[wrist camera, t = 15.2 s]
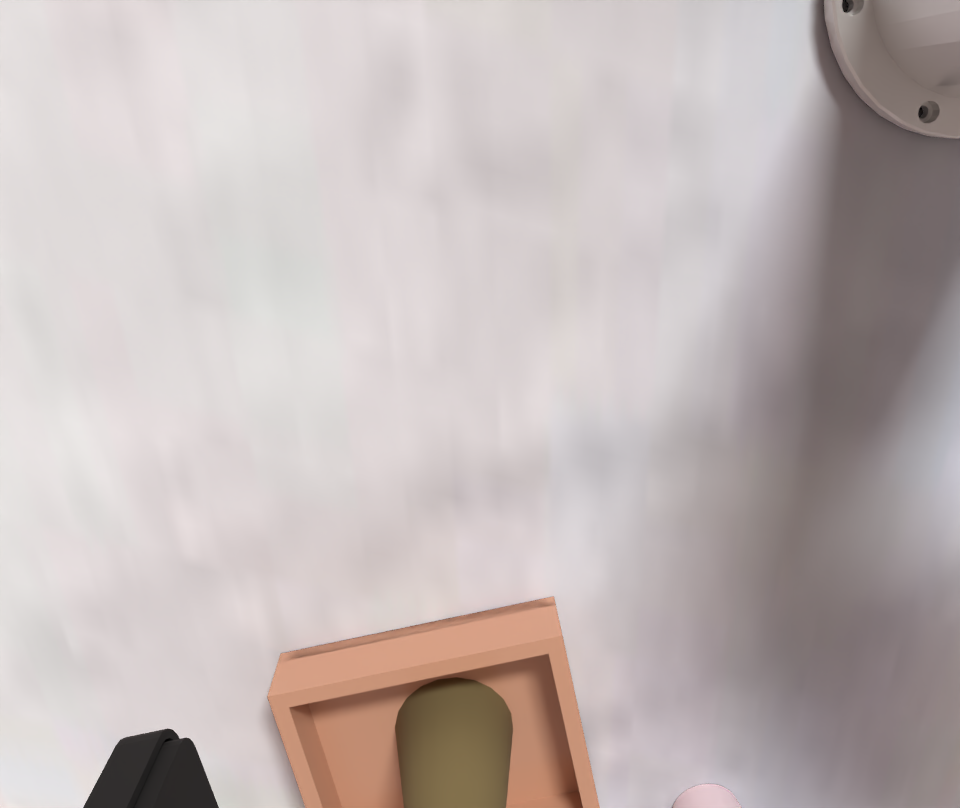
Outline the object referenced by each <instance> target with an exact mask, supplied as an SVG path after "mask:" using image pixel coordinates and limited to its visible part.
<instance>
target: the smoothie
mask: <svg viewBox="0 0 960 808" xmlns="http://www.w3.org/2000/svg"><path fill="white" fill-rule="evenodd" d="M672 808H742V807H741V806H740V804H739V802H738V801H737V799H736V797H735V796H734V795H733V793H732V792H731V791H729V790H728V789H726V788H725V787H722V786H720V785H716V784H701V785H697V786H694V787H692V788H689V789H688V790H686V791H685V792H683V793H682V794H681V795H680V796H679V797H678V798H677V799H676V801H675V803H674V805H673V807H672Z"/></svg>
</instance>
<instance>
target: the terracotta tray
mask: <svg viewBox="0 0 960 808" xmlns="http://www.w3.org/2000/svg"><path fill="white" fill-rule="evenodd" d="M454 677H458V678H464V679H471V680H476V681H478V682H480V683H482V684H484V685H486V686H489V687H491V688H492V689H493V690H494V691H495V692H496V693H498V694H499V695H500V696H501V697H502V698H503V699H504V701H505V703H506V704H507V706H508V708H509V710H510V712H511V715H512V723H513V736H512V747H511V758H510V770H509V781H508V792H507V803H506V808H600V807H599V803H598V798H597V793H596V789H595V784H594V779H593V775H592V770H591V766H590V761H589V756H588V752H587V747H586V742H585V738H584V733H583V729H582V724H581V719H580V715H579V710H578V705H577V701H576V696H575V692H574V687H573V682H572V678H571V673H570V668H569V664H568V659H567V655H566V650H565V645H564V641H563V636H562V632H561V627H560V622H559V618H558V613H557V609H556V604H555V600H554V597H549V598H544V599H539V600H535V601H530V602H525V603H520V604H515V605H511V606H506V607H501V608H496V609H492V610H487V611H482V612H477V613H472V614H468V615H463V616H458V617H453V618H449V619H444V620H439V621H434V622H429V623H425V624H420V625H415V626H410V627H405V628H401V629H396V630H391V631H386V632H382V633H377V634H372V635H367V636H362V637H358V638H353V639H348V640H343V641H339V642H334V643H329V644H324V645H319V646H315V647H310V648H305V649H300V650H296V651H291V652H286V653H281V655H280V658H279V661H278V664H277V667H276V671H275V674H274V677H273V680H272V684H271V687H270V690H269V693H268V696H267V697H268V700H269V703H270V706H271V709H272V712H273V715H274V717H275V720H276V723H277V726H278V729H279V732H280V735H281V738H282V741H283V744H284V746H285V749H286V752H287V755H288V758H289V761H290V764H291V767H292V770H293V772H294V775H295V778H296V781H297V784H298V787H299V790H300V793H301V796H302V799H303V801H304V804H305V807H306V808H404V804H403V795H402V786H401V777H400V768H399V759H398V750H397V741H396V732H395V724H396V719H397V715H398V711H399V709H400V708H401V706H402V705H403V703H404V701H405V700H406V698H407V697H408V696H410V695H411V694H412V693H413V692H414V691H416V690H417V689H418V688H419V687H421V686H423V685H425V684H428V683H430V682H433V681H435V680H438V679H446V678H454Z"/></svg>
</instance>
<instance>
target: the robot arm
mask: <svg viewBox="0 0 960 808" xmlns="http://www.w3.org/2000/svg"><path fill="white" fill-rule="evenodd" d="M842 1H843V0H824V15H825V22H826V27H827V31H828V35H829V40H830V44H831V49H832V51H833V53H834V55H835V58H836V60H837V62H838V64H839V66H840V69H841V71H842V73H843V75H844V77H845V78H846V79H847V81H848V82H849V84H850V85H851V86H852V88H853V89H854V91H855V92H856V93H857V95H858V96H859V97H860V98H861V99H862V100H863V101H864V102H865V103H866V104H867V105H868V106H870V107H871V108H872V109H873V110H874V111H875V112H876V113H877V114H878V115H880V116H881V117H883V118H885V119H887V120H888V121H890V122H892V123H894V124H896V125H897V126H899V127H901V128H903V129H906V130H909V131H912V132H916V133H919V134H922V135H926V136H930V137H941V138H951V139H958V138H960V0H846V1H848V4H849V8H848V10H847V12H844V11H843V9H842ZM920 107H922V109H923V114H922V116H921V117H920V118H919V116H918V112H919V108H920ZM83 808H219V807H218V805H217V802H216V799H215V797H214V794H213V792H212V789H211V786H210V784H209V781H208V778H207V776H206V773H205V771H204V768H203V765H202V763H201V760H200V758H199V755H198V752H197V750H196V747H195V745H194V743H193V742H192V741H191V740H190V739H189V738H182V739H179V737H178V735H177V734H176V733H175V732H174V731H173V730H171V729H164V730H159V731H154V732H150V733H145V734H140V735H135V736H130V737H125V738H123V739H121V740H120V741H119V742H118V744H117V745H116V746H115V748H114V750H113V752H112V754H111V756H110V758H109V760H108V762H107V764H106V765H105V767H104V769H103V771H102V773H101V775H100V777H99V779H98V781H97V783H96V784H95V786H94V788H93V790H92V792H91V794H90V796H89V798H88V800H87V801H86V803H85V805H84V807H83Z"/></svg>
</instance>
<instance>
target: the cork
mask: <svg viewBox="0 0 960 808" xmlns="http://www.w3.org/2000/svg"><path fill="white" fill-rule="evenodd" d="M395 732H396V741H397V750H398V759H399V768H400V777H401V786H402V795H403V804H404V808H506V803H507V792H508V781H509V770H510V758H511V747H512V736H513V723H512V715H511V712H510V710H509V708H508V706H507V704H506V703H505V701H504V699H503V698H502V697H501V696H500V695H499V694H498V693H496V692H495V691H494V690H493V689H492V688H491V687H489V686H486V685H484V684H482V683H480V682H478V681H476V680H471V679H464V678H458V677H454V678H446V679H438V680H435V681H433V682H430V683H428V684H425V685H423V686H421V687H419V688H418V689H417V690H416V691H414V692H413V693H412V694H411V695H410V696H408V697H407V698H406V700H405V701H404V703H403V705H402V706H401V708H400V709H399V711H398V715H397V719H396V724H395Z"/></svg>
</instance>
